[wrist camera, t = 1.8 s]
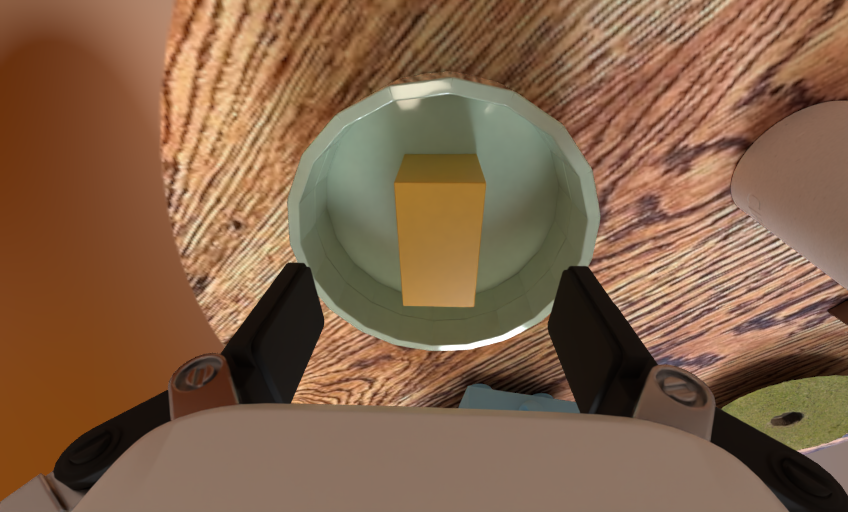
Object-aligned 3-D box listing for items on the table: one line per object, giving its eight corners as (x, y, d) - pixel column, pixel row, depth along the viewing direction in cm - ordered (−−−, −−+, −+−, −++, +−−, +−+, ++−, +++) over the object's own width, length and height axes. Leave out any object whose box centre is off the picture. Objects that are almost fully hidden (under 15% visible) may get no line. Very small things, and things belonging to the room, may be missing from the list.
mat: (660, 408, 27) (674, 431, 25) (802, 332, 21) (832, 356, 20) (742, 445, 30) (759, 468, 28) (887, 386, 24) (920, 410, 22)
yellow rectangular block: (404, 153, 15) (393, 182, 12) (477, 153, 15) (486, 182, 12) (409, 261, 19) (402, 306, 16) (468, 262, 19) (474, 307, 15)
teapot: (425, 345, 24) (414, 534, 15) (644, 379, 25) (766, 578, 16) (399, 443, 33) (382, 601, 23) (562, 465, 34) (608, 626, 24)
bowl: (382, 3, 13) (356, -18, 9) (619, 165, 16) (675, 201, 12) (293, 243, 19) (257, 290, 16) (472, 324, 22) (478, 378, 19)
